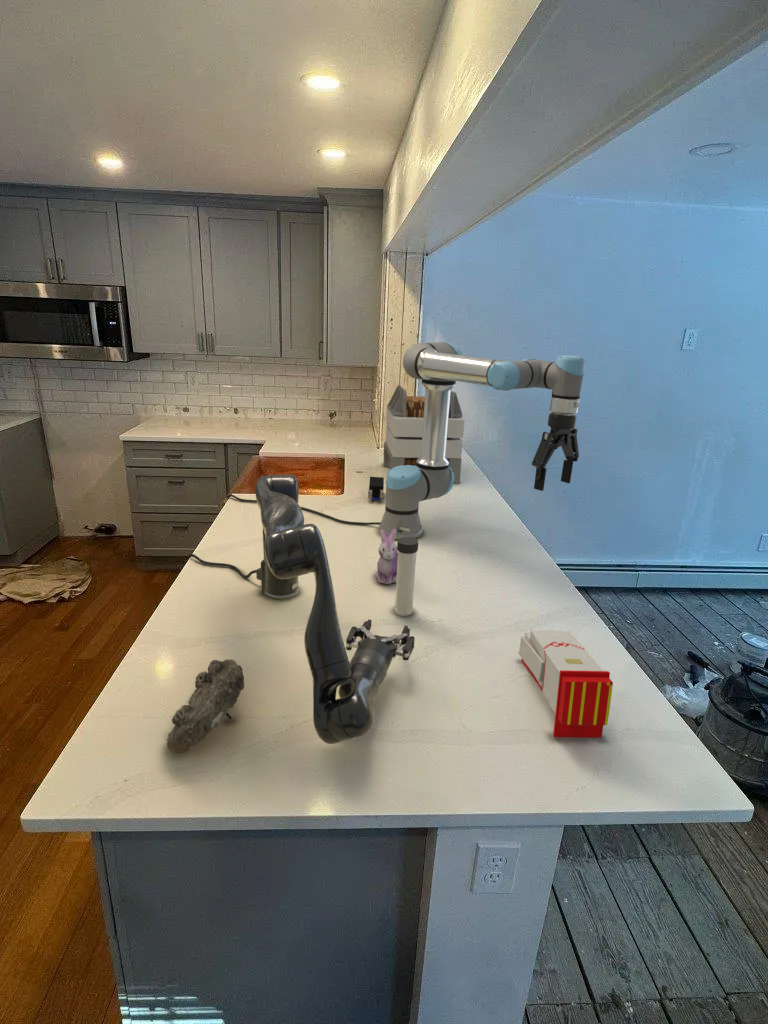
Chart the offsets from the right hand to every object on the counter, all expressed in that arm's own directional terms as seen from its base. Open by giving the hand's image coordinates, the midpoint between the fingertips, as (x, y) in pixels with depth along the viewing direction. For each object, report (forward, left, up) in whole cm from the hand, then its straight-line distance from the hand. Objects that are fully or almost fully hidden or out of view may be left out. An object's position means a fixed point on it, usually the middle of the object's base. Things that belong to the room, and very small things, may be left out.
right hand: (552, 485), depth 166 cm
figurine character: (-83, +4, -28) cm, 88 cm away
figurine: (-24, -40, -28) cm, 55 cm away
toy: (+37, -47, -28) cm, 66 cm away
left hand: (+4, -66, -21) cm, 69 cm away
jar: (-7, -50, -28) cm, 58 cm away
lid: (-7, -50, -8) cm, 51 cm away
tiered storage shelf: (-101, +46, -28) cm, 115 cm away
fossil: (0, -107, -28) cm, 110 cm away
